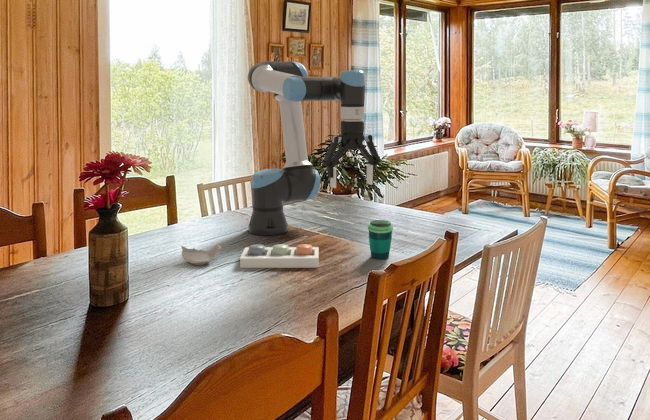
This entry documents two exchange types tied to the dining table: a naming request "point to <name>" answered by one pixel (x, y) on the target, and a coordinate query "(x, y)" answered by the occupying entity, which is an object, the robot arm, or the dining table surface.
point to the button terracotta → (304, 250)
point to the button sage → (280, 250)
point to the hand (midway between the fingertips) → (351, 185)
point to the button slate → (257, 250)
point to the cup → (380, 238)
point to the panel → (280, 259)
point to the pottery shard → (199, 255)
